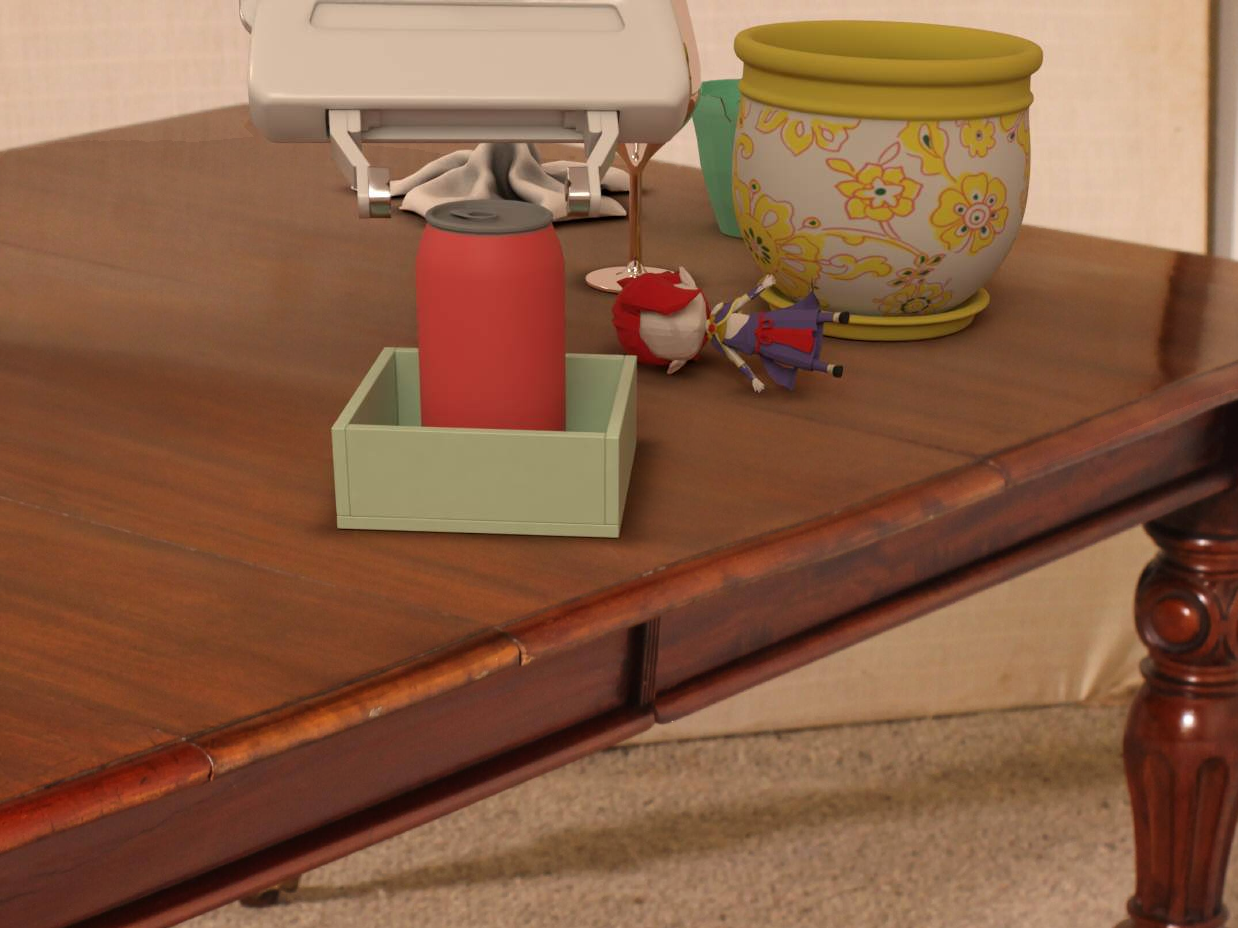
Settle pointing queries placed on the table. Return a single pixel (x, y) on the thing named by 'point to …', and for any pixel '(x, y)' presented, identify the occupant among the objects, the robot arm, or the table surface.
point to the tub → (486, 458)
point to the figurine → (719, 327)
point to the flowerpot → (882, 168)
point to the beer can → (491, 317)
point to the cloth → (500, 180)
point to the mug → (718, 146)
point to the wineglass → (637, 160)
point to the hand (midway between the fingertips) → (480, 211)
